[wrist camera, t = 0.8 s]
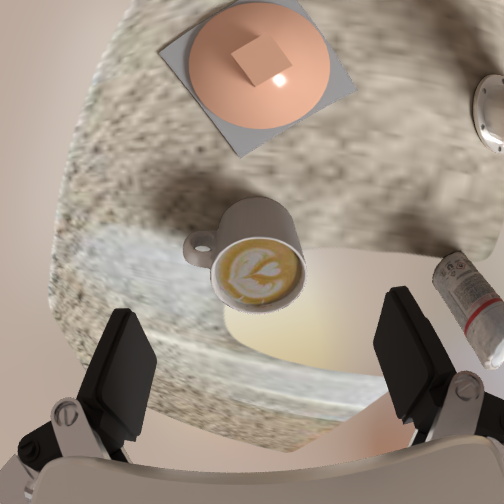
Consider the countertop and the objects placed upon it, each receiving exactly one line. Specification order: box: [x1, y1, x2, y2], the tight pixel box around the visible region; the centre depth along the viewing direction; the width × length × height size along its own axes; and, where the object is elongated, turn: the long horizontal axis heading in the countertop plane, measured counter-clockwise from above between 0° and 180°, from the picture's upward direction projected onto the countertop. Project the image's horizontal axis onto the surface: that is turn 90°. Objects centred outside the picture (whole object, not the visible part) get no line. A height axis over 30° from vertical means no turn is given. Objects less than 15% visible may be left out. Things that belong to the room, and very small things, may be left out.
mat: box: [159, 0, 357, 158], centre depth 27 cm, size 16×16×1 cm
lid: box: [189, 3, 330, 129], centre depth 24 cm, size 15×15×6 cm
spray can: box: [432, 252, 504, 370], centre depth 34 cm, size 8×8×20 cm
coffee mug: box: [183, 197, 307, 314], centre depth 34 cm, size 13×10×10 cm
